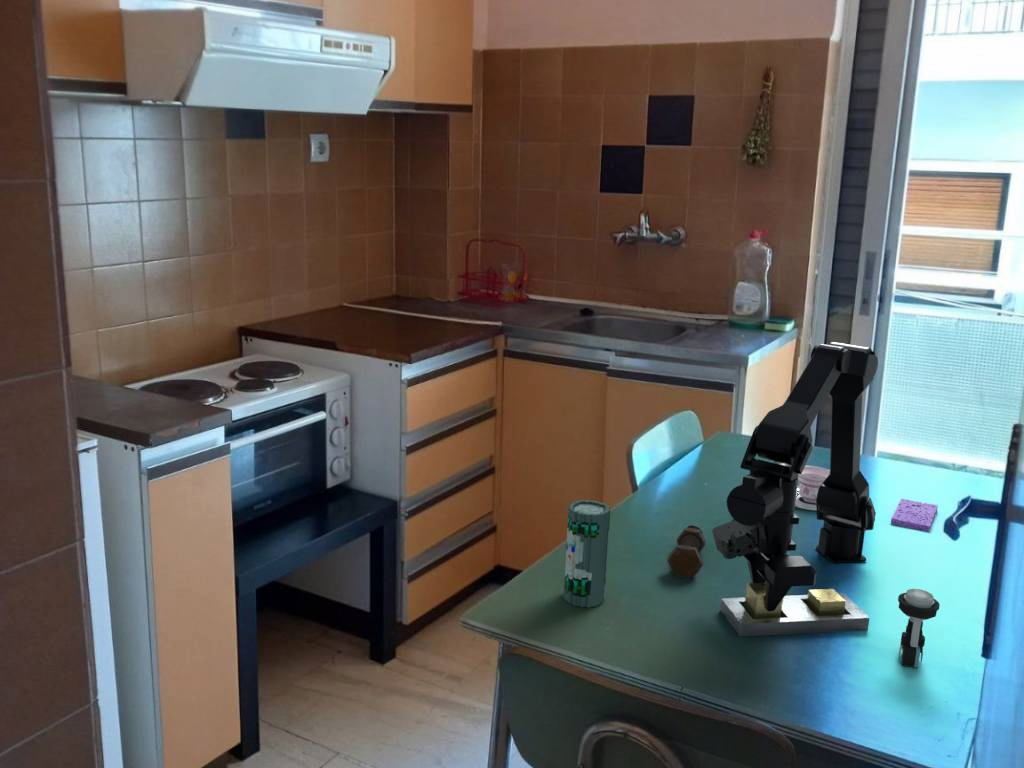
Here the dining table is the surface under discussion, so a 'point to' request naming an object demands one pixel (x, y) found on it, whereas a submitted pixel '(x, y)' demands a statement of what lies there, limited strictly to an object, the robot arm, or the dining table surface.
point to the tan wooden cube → (825, 602)
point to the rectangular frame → (793, 618)
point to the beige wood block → (759, 602)
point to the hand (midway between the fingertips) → (763, 603)
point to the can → (586, 553)
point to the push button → (915, 623)
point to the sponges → (914, 515)
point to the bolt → (687, 553)
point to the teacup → (810, 485)
